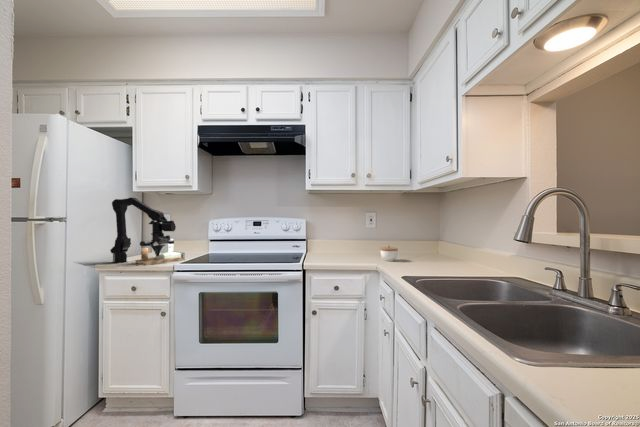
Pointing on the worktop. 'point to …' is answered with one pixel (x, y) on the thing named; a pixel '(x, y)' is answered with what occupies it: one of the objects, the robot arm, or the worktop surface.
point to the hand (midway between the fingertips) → (157, 256)
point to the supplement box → (167, 248)
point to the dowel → (144, 253)
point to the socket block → (168, 256)
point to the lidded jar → (389, 253)
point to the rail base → (155, 261)
